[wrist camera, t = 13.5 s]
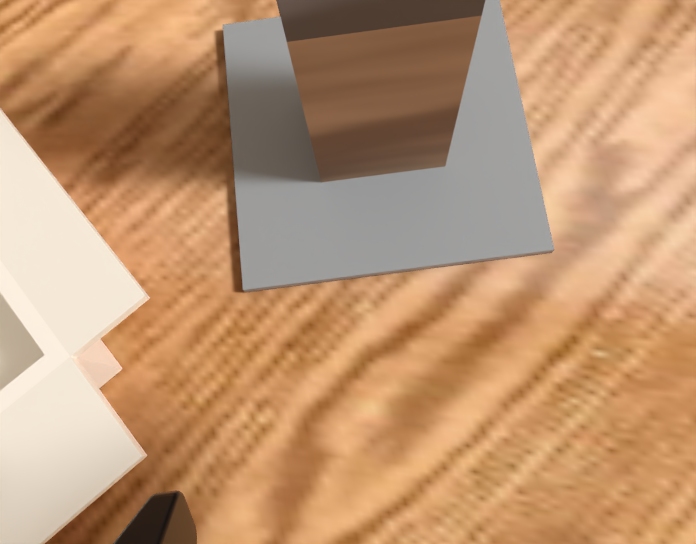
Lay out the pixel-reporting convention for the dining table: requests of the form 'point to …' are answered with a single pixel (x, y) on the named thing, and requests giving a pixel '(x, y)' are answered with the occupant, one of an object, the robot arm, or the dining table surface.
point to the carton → (55, 351)
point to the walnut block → (380, 79)
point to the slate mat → (377, 176)
